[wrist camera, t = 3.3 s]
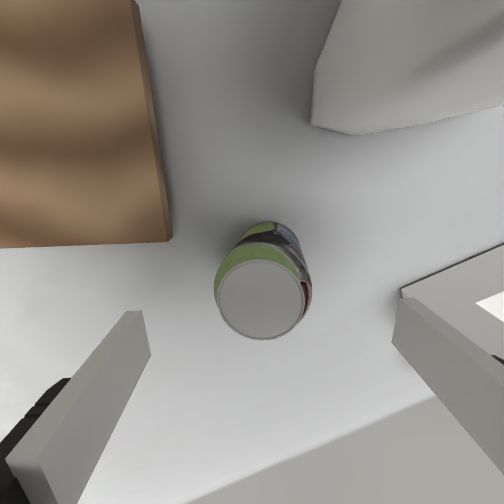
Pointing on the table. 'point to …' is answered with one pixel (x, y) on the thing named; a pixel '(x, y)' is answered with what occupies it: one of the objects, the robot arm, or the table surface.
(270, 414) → the table surface
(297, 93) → the table surface
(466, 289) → the white pipe support bracket
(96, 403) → the robot arm
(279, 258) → the beverage can
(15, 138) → the wooden serving board
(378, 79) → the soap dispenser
